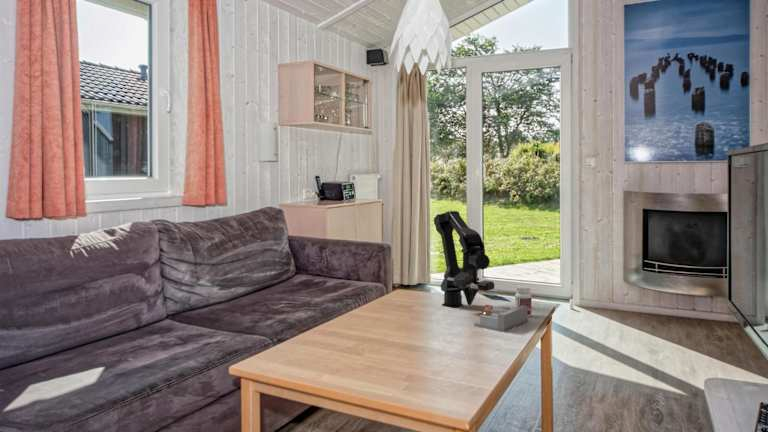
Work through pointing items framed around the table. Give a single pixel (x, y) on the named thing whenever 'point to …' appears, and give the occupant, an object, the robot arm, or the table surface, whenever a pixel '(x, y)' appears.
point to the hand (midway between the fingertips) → (469, 304)
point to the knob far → (494, 308)
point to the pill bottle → (523, 298)
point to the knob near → (490, 314)
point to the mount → (504, 319)
